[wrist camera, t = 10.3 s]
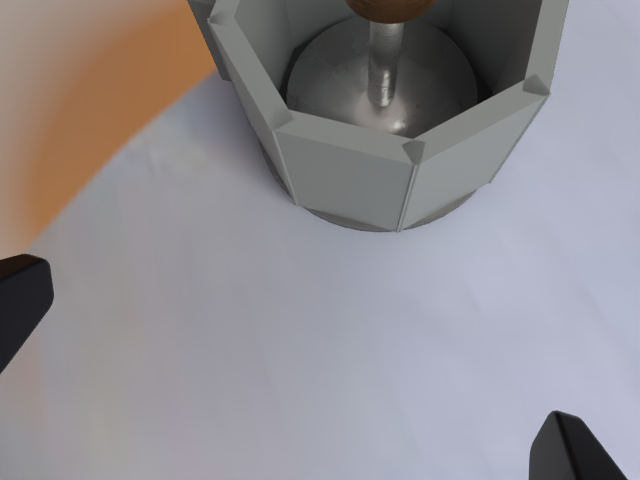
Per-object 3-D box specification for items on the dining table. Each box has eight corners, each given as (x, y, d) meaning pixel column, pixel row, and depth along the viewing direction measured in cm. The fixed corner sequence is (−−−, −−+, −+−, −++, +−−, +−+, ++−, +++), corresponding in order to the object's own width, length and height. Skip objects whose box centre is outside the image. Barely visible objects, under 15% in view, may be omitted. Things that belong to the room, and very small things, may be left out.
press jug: (473, 261, 23) (533, 200, 15) (198, 188, 25) (125, 100, 17) (525, 38, 25) (599, -111, 18) (273, -14, 27) (241, -169, 20)
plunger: (450, 209, 22) (529, 67, 12) (264, 161, 23) (194, -4, 13) (492, 42, 24) (589, -199, 14) (318, 6, 25) (293, -241, 15)
